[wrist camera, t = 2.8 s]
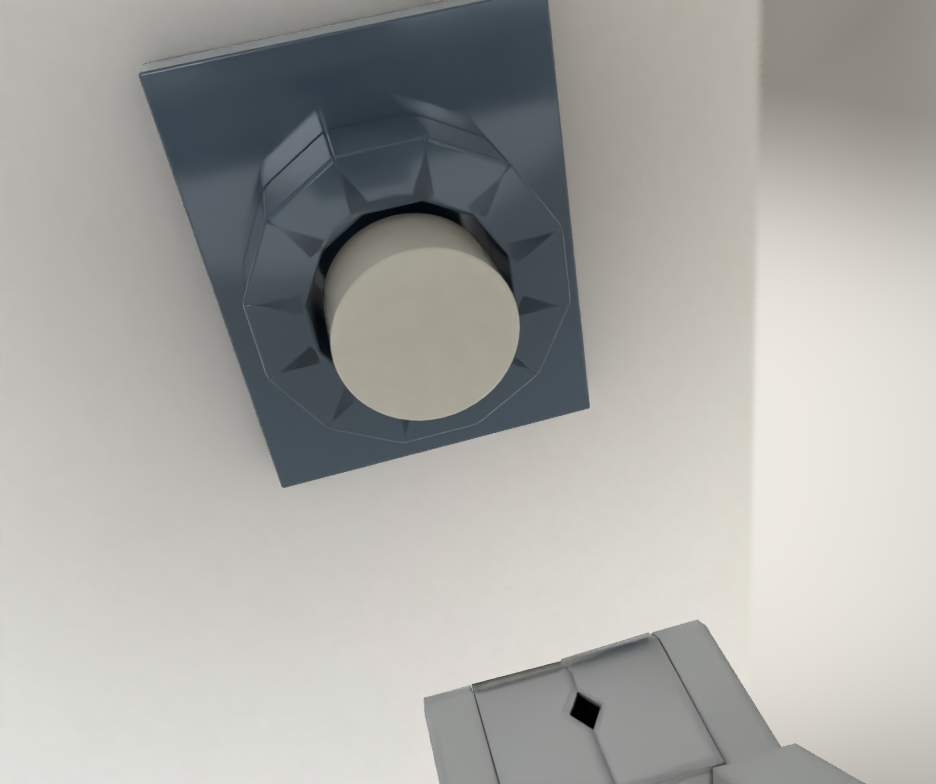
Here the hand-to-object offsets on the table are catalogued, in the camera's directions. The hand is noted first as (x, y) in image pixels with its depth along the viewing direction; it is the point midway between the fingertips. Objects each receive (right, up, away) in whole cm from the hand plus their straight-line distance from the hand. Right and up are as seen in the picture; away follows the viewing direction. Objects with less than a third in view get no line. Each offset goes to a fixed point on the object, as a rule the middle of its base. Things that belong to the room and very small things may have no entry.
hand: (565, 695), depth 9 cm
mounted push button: (-3, +6, +11) cm, 13 cm away
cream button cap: (-2, +5, +9) cm, 11 cm away
